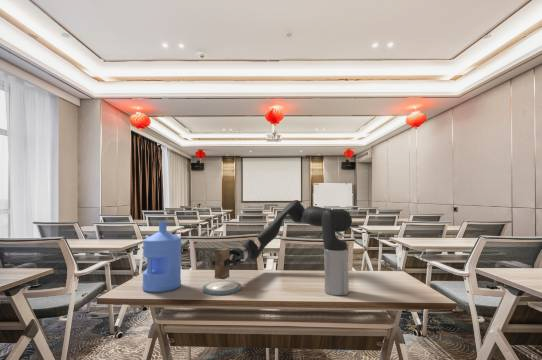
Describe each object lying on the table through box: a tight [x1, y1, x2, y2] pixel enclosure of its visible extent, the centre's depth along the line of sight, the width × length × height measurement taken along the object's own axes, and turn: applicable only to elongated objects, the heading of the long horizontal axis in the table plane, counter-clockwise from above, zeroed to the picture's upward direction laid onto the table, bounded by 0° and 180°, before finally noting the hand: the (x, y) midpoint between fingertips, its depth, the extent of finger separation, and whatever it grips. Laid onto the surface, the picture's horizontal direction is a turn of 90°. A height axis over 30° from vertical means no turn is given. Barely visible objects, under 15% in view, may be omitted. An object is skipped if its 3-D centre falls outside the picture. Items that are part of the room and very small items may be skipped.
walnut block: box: [214, 247, 230, 280], centre depth 126 cm, size 4×4×12 cm
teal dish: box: [202, 280, 242, 296], centre depth 126 cm, size 16×16×1 cm
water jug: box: [141, 221, 182, 293], centre depth 129 cm, size 16×16×28 cm
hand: (219, 263), depth 124 cm, fingers closed on walnut block, 4 cm apart
